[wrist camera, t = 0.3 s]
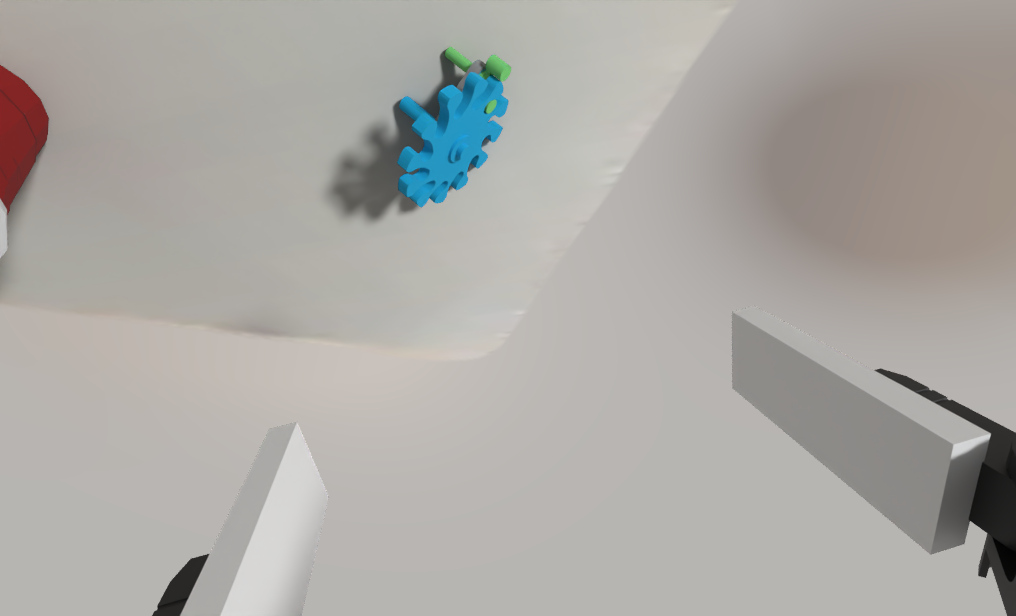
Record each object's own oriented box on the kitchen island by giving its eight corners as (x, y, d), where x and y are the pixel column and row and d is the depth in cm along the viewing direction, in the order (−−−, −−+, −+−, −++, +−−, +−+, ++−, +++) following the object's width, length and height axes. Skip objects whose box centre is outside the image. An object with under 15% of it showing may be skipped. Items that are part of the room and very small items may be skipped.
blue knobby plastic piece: (452, 218, 39) (387, 203, 30) (401, 174, 40) (321, 145, 31) (537, 100, 36) (495, 41, 27) (480, 55, 37) (419, -16, 28)
